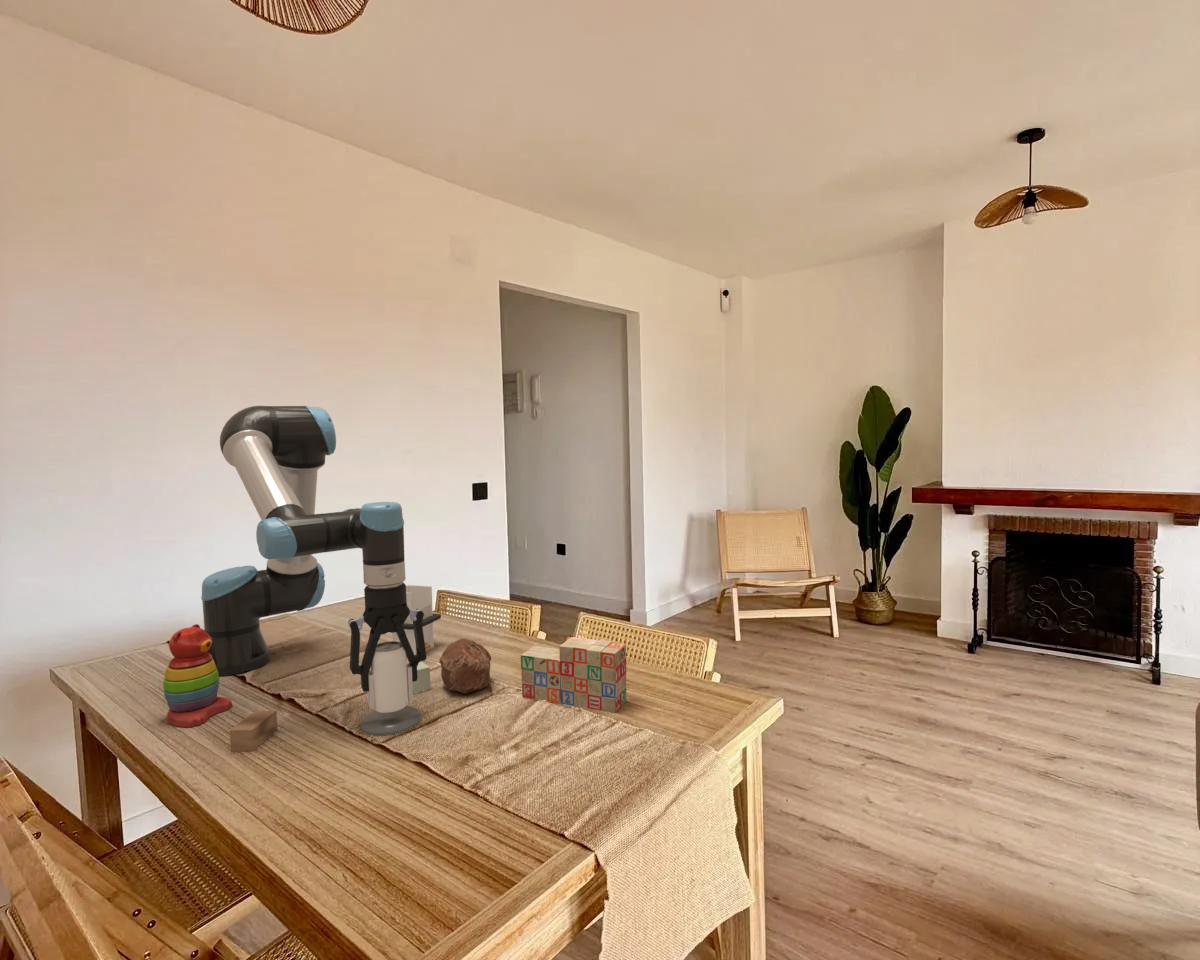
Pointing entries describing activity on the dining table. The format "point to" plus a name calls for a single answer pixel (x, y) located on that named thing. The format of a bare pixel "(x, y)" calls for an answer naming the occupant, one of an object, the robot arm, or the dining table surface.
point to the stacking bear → (192, 679)
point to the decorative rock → (465, 666)
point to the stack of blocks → (577, 674)
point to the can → (390, 677)
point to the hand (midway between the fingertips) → (390, 702)
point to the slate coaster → (390, 721)
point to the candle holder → (423, 600)
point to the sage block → (422, 678)
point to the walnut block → (253, 731)
